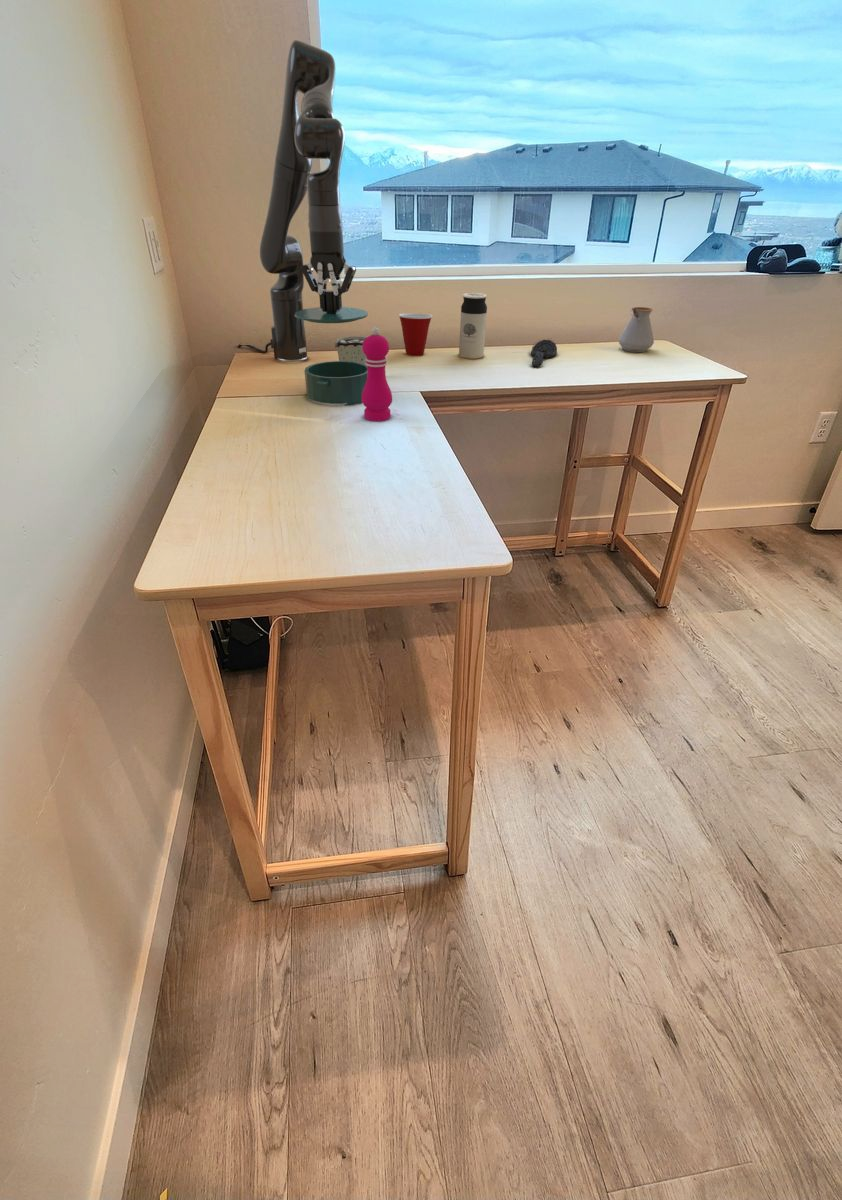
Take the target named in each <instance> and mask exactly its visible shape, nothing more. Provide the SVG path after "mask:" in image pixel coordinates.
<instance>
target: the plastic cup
mask: <svg viewBox="0 0 842 1200" xmlns="http://www.w3.org/2000/svg"><path fill="white" fill-rule="evenodd" d="M398 317H399V320H400V324H401V325H400V326H401V329H402V330H401V331H402V336H403V344H404V350H405V354H406V355H407V356H409V357H420V356H423V355H424V353H425V350H426V344H427V339H428V335H429V329H430V323H431V320H432V318H433V315H432V314H427V313H425V314H424V313H398Z"/></svg>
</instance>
